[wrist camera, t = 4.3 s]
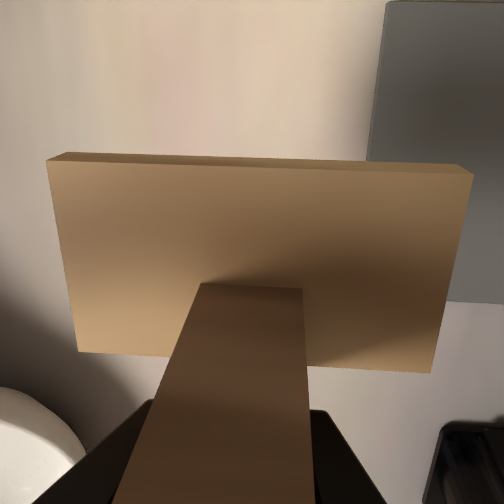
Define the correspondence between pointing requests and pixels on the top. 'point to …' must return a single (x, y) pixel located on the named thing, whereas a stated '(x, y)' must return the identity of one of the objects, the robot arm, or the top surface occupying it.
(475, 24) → the rest mat
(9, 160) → the top surface
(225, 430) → the wooden stamp block
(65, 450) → the spoon rest
